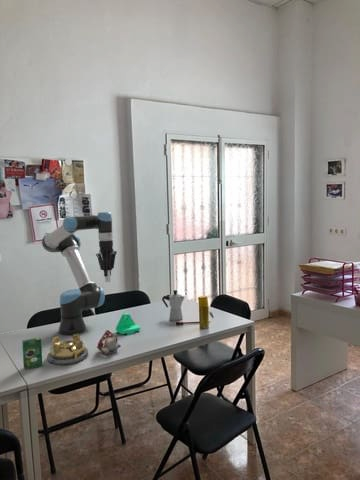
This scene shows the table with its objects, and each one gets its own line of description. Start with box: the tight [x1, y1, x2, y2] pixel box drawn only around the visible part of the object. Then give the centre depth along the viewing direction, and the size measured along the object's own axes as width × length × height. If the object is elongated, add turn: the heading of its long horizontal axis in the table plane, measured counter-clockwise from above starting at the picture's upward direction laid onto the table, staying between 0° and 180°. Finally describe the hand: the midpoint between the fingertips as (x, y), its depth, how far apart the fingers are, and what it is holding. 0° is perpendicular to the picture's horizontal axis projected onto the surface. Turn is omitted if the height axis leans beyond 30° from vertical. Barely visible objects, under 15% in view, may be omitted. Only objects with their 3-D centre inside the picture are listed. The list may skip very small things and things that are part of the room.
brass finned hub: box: [49, 333, 86, 359], centre depth 188 cm, size 16×16×6 cm
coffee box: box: [22, 337, 44, 370], centre depth 178 cm, size 8×3×13 cm, turn 120°
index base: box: [46, 347, 89, 367], centre depth 188 cm, size 19×19×5 cm
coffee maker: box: [161, 289, 186, 322], centre depth 243 cm, size 15×9×18 cm, turn 84°
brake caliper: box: [96, 329, 122, 358], centre depth 193 cm, size 11×11×12 cm
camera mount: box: [115, 312, 141, 335], centre depth 221 cm, size 12×8×10 cm, turn 122°
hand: (107, 281), depth 218 cm, fingers closed
